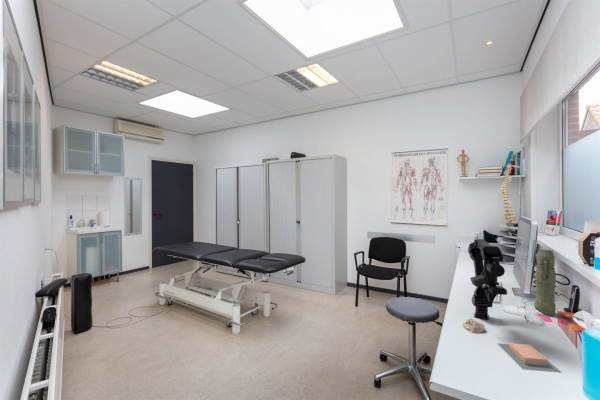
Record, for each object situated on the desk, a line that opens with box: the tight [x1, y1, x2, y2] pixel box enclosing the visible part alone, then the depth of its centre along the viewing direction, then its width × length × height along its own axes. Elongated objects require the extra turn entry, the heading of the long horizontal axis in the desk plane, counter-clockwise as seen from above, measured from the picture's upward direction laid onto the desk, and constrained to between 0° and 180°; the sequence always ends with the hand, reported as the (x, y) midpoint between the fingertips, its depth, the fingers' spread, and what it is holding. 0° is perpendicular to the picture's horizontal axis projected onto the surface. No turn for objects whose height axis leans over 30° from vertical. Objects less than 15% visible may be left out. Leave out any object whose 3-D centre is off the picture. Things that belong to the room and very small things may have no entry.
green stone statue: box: [534, 249, 557, 317], centre depth 160 cm, size 9×12×35 cm
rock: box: [461, 318, 486, 334], centre depth 141 cm, size 11×8×6 cm
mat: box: [496, 342, 562, 373], centre depth 117 cm, size 19×13×1 cm
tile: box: [508, 342, 549, 366], centre depth 116 cm, size 2×8×11 cm
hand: (490, 302), depth 142 cm, fingers closed
